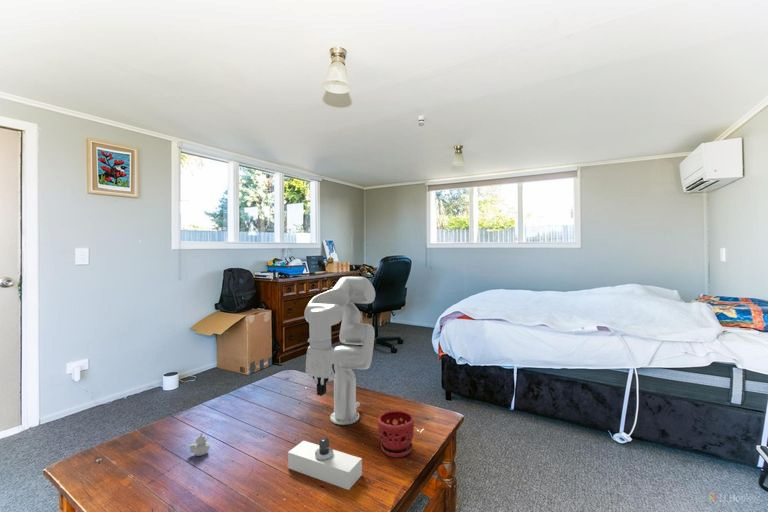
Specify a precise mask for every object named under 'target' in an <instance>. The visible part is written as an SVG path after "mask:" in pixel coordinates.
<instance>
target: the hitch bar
mask: <svg viewBox="0 0 768 512" xmlns="http://www.w3.org/2000/svg"><path fill="white" fill-rule="evenodd" d="M317 449H319V444H316V443H313V442H309V441H306V440H302V441H300V443H298V444H297V445H296V446H294V447H293V448H292V449H290V450H289V451H288V452H287V469H290V470H292V471H295V472H297V473H300V474H304V475H306V476H308V477H312V478H314V479H317V480H320V481H323V482H324V483H327V484H330V485H334V486H337V487H340V488H342V489H345V490H348V491H349V490H351V488H352V487H353V486H354V485H355V483H357V481H358V480H359V479H360V477H362V475H363V458H361V457H358V456H355V455H352V454H348V453H346V452H343V451H339V450H336V449H333V457H332V458H331V459H329V460H325V461H320V460H317V459H316V458H315V452H316V450H317Z"/></svg>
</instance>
